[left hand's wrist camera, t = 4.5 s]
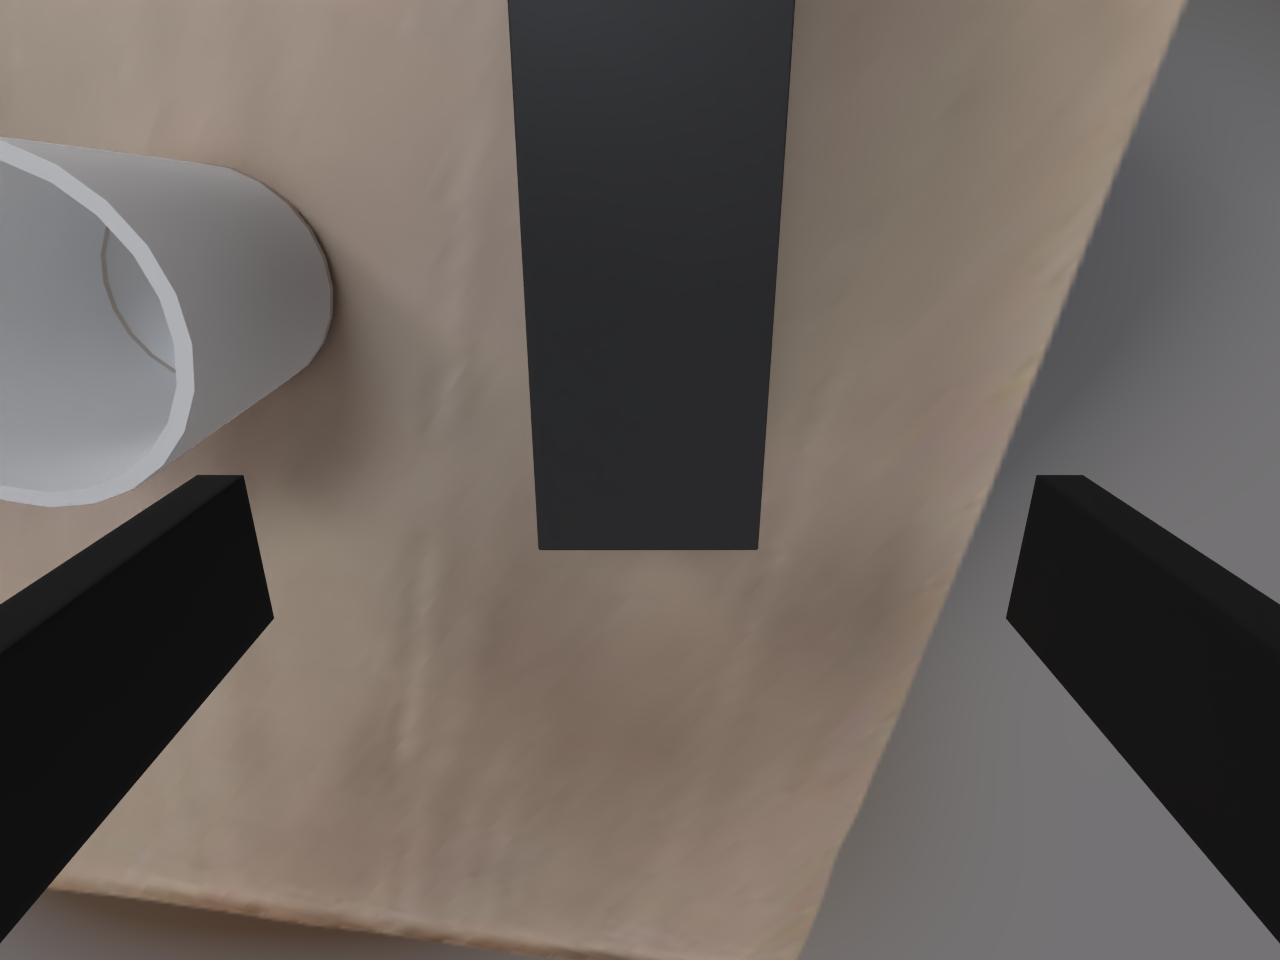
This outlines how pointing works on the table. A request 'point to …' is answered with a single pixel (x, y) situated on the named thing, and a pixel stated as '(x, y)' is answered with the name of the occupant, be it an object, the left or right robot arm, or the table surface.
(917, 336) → the table surface
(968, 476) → the table surface
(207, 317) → the mug
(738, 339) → the box
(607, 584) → the table surface
